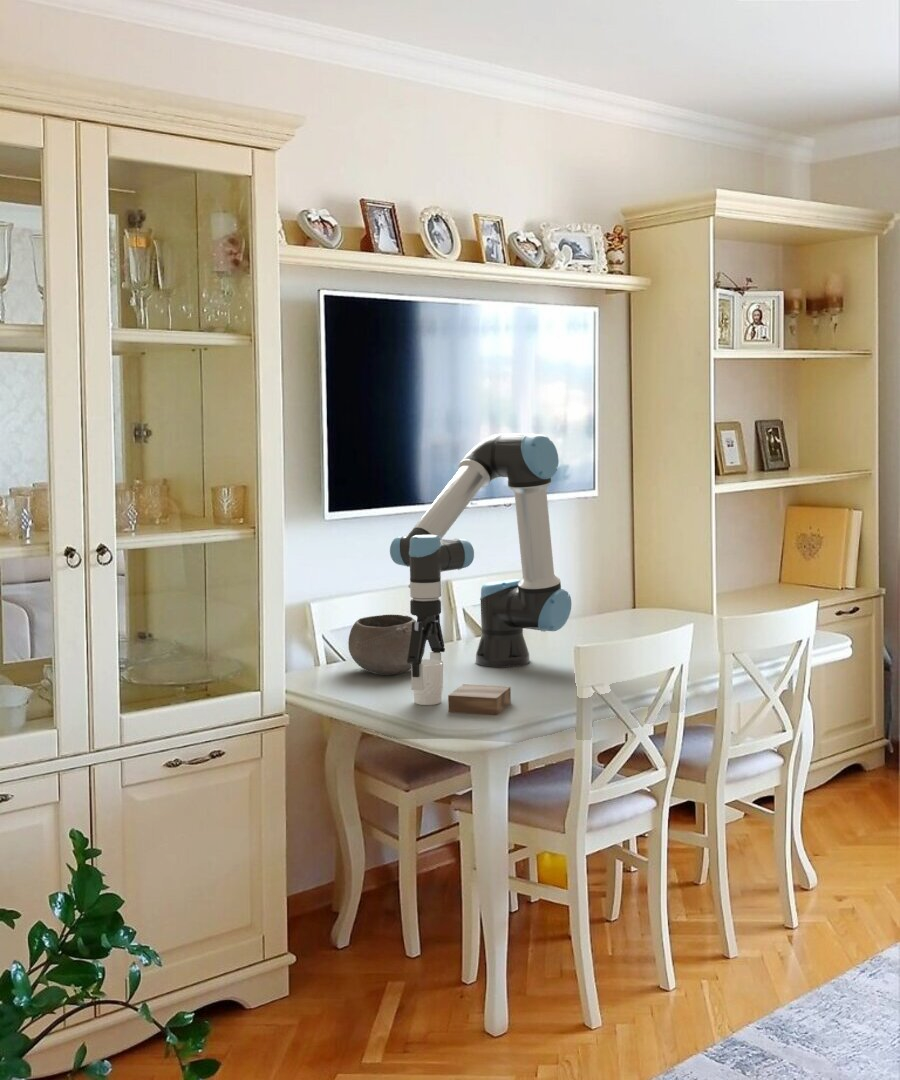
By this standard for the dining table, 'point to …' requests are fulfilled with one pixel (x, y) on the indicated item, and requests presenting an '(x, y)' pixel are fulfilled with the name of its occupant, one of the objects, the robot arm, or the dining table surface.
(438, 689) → the white cup
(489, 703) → the walnut plinth
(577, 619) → the dining table surface
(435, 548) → the robot arm
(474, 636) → the dining table surface
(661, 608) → the dining table surface
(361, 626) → the clay pot
